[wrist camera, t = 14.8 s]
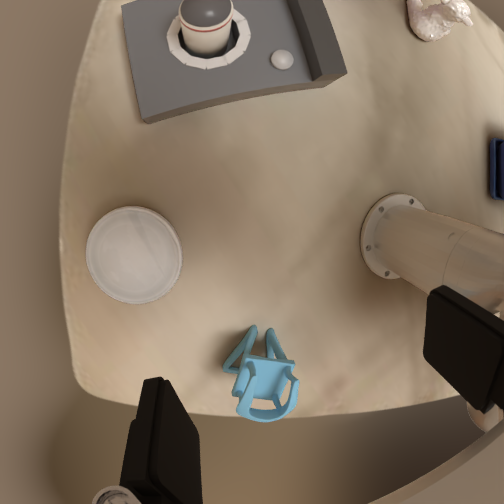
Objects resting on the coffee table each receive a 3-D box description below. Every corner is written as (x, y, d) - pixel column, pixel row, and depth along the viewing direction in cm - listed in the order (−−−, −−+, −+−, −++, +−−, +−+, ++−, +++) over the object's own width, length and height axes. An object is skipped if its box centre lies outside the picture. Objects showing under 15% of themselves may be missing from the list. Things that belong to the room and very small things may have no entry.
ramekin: (202, 229, 36) (201, 240, 31) (160, 302, 38) (154, 321, 33) (124, 184, 33) (110, 187, 28) (87, 260, 35) (72, 274, 30)
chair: (288, 330, 42) (315, 382, 30) (270, 375, 43) (289, 430, 32) (236, 321, 40) (248, 376, 29) (221, 368, 42) (229, 427, 30)
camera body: (291, -10, 28) (306, -36, 21) (323, 87, 33) (347, 73, 26) (128, 18, 26) (115, -6, 20) (148, 124, 31) (135, 114, 25)
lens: (224, 25, 28) (229, -15, 19) (231, 59, 29) (237, 23, 20) (183, 32, 28) (175, -8, 19) (188, 66, 29) (180, 31, 20)
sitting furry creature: (446, 32, 32) (492, 15, 20) (435, 59, 33) (486, 44, 22) (407, -5, 29) (449, -31, 18) (392, 20, 31) (439, -7, 19)
